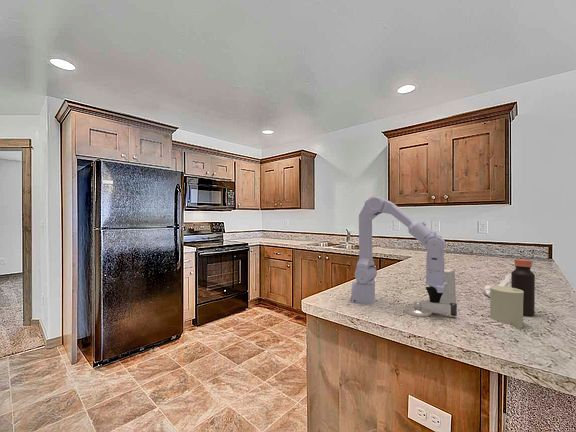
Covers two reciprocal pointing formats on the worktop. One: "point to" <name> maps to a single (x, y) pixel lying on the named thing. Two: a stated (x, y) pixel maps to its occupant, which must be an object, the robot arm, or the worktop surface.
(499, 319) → the can
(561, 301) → the worktop surface
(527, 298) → the bottle
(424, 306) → the crank handle
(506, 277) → the plastic part
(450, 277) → the skincare box
